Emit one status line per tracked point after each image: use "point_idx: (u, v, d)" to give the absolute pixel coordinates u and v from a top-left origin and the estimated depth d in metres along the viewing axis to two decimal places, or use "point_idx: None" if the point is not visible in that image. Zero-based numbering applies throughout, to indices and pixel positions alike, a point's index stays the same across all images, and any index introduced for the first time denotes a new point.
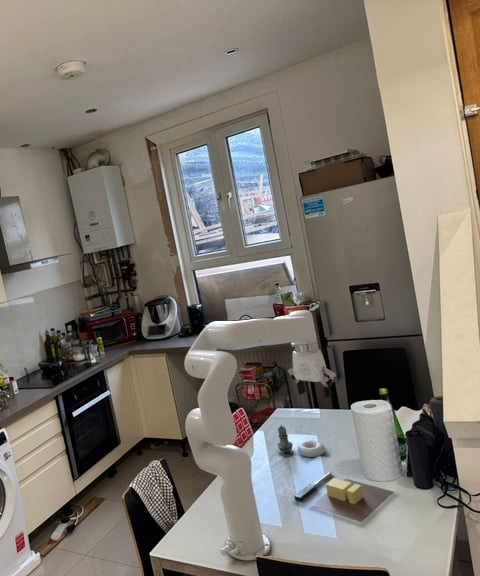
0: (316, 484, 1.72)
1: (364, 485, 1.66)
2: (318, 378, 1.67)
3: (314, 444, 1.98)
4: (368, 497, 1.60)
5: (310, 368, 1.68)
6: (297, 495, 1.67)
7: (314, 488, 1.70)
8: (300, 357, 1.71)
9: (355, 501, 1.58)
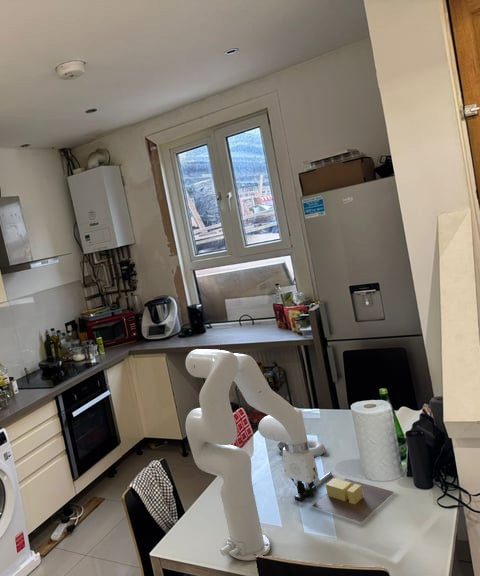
0: None
1: (364, 485, 1.66)
2: (308, 480, 1.63)
3: (314, 444, 1.98)
4: (368, 497, 1.60)
5: (300, 469, 1.64)
6: (297, 495, 1.67)
7: (314, 488, 1.70)
8: (290, 456, 1.67)
9: (355, 501, 1.58)
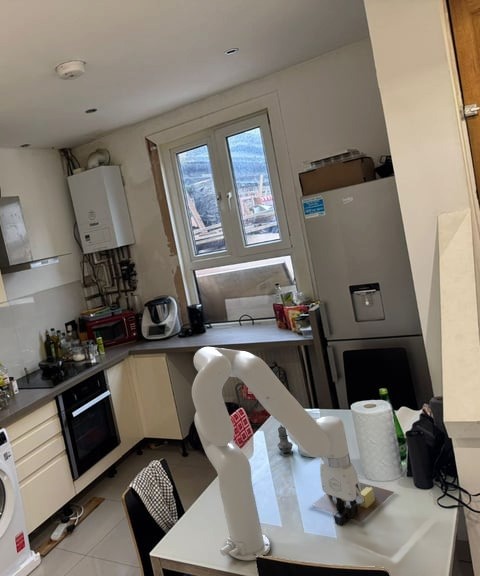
0: None
1: (364, 485, 1.66)
2: (351, 497, 1.46)
3: None
4: None
5: (341, 485, 1.48)
6: (337, 514, 1.50)
7: (355, 506, 1.53)
8: (329, 470, 1.50)
9: (367, 505, 1.55)
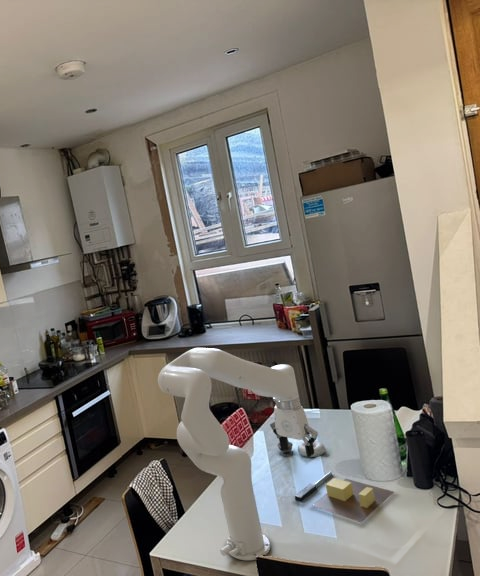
0: (316, 484, 1.72)
1: (364, 485, 1.66)
2: (300, 436, 1.62)
3: (314, 444, 1.98)
4: None
5: (292, 425, 1.63)
6: (297, 495, 1.67)
7: (314, 488, 1.70)
8: (281, 413, 1.66)
9: (367, 505, 1.55)
